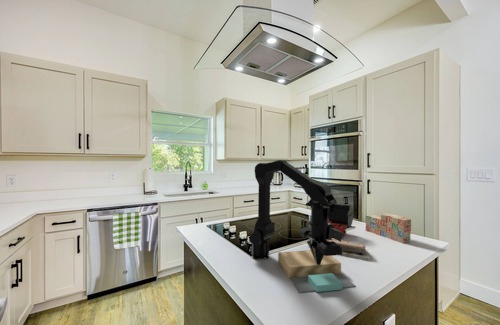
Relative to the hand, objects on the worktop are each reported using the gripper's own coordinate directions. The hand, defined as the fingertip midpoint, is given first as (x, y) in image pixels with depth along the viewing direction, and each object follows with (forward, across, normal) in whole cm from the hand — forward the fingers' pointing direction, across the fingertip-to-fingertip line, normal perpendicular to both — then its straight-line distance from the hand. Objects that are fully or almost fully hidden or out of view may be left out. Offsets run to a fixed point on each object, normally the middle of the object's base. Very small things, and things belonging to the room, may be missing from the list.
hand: (318, 264), depth 75 cm
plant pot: (+5, +40, -33) cm, 53 cm away
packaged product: (+6, +18, -24) cm, 31 cm away
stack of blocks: (+5, +34, -60) cm, 69 cm away
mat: (+5, -3, 0) cm, 6 cm away
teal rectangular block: (+3, -4, 0) cm, 5 cm away
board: (+5, +7, 0) cm, 9 cm away
